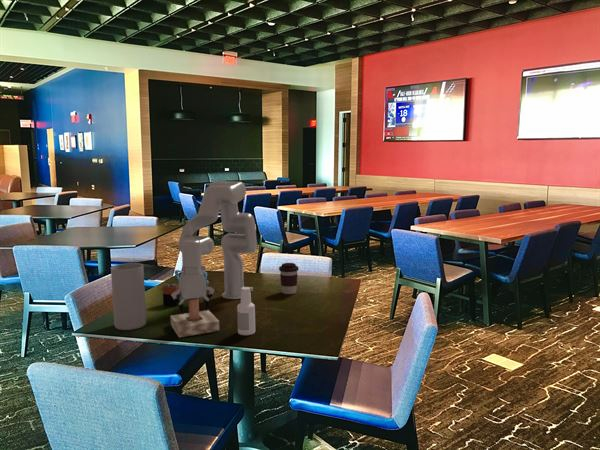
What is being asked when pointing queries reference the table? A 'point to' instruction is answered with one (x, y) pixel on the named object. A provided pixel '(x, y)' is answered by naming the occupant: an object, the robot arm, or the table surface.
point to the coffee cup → (288, 277)
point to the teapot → (182, 272)
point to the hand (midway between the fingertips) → (194, 311)
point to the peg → (193, 309)
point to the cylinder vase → (128, 296)
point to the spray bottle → (246, 313)
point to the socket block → (194, 324)
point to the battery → (167, 296)
